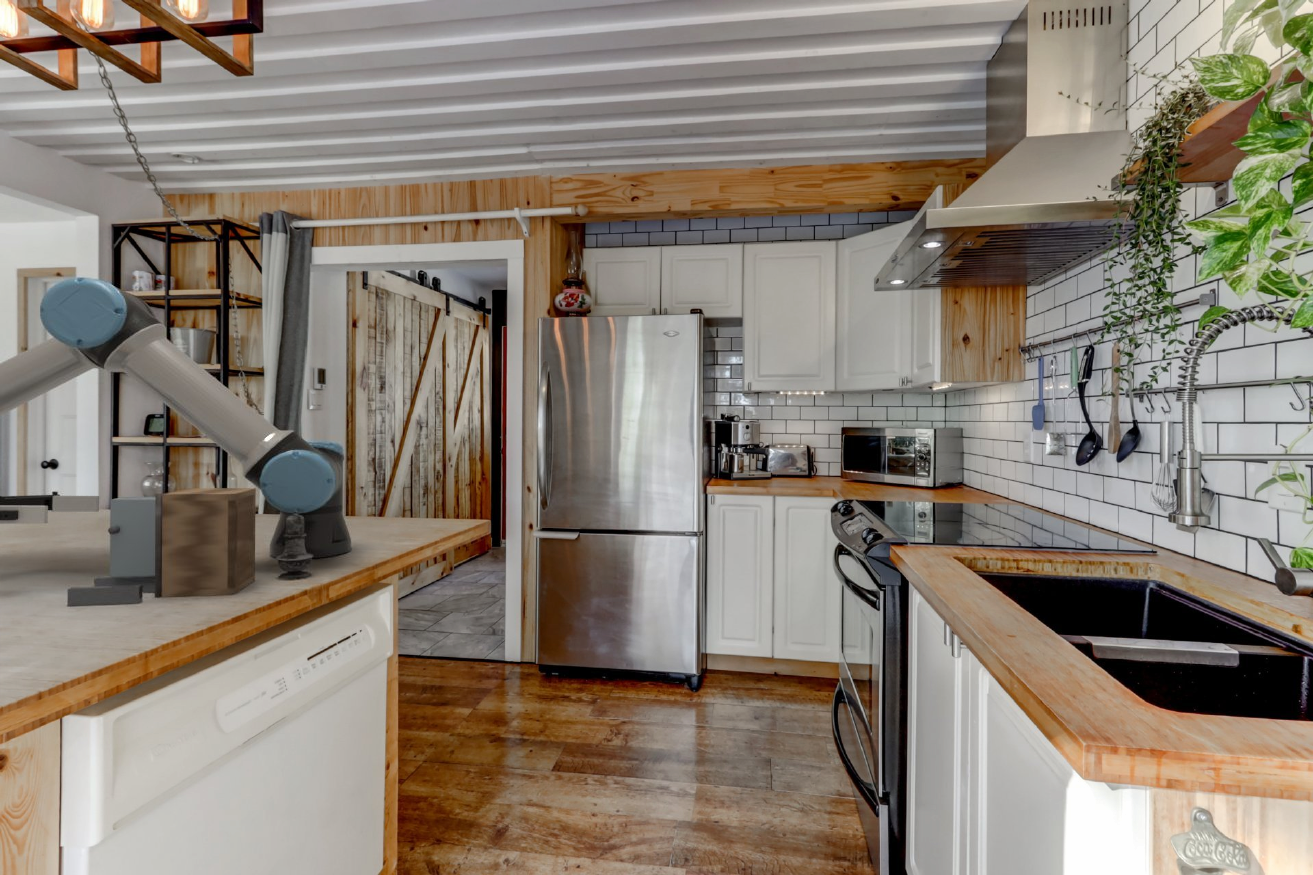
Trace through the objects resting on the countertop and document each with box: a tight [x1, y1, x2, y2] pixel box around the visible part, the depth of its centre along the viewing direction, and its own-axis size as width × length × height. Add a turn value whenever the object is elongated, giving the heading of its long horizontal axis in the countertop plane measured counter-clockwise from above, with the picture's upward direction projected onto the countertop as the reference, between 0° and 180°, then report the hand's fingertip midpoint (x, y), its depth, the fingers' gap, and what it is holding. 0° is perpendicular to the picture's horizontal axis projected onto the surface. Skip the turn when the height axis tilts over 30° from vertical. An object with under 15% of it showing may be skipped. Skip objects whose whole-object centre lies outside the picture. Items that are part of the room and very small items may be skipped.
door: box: [107, 496, 155, 577], centre depth 110 cm, size 8×5×14 cm, turn 104°
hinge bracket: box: [66, 575, 155, 607], centre depth 99 cm, size 9×8×2 cm
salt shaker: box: [275, 509, 314, 581], centre depth 115 cm, size 6×6×12 cm
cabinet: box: [154, 487, 257, 598], centre depth 106 cm, size 11×9×16 cm
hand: (74, 508), depth 108 cm, fingers open, 13 cm apart
